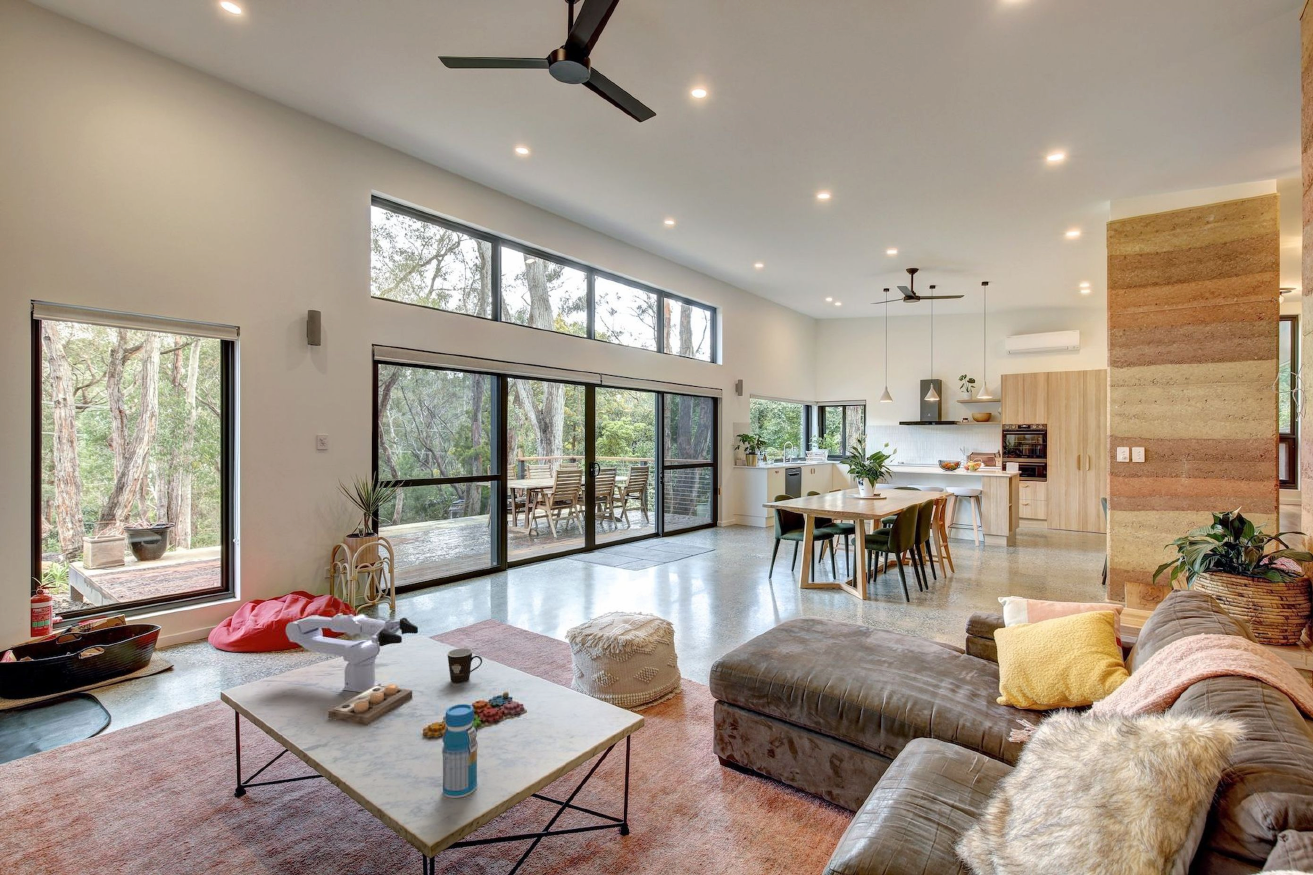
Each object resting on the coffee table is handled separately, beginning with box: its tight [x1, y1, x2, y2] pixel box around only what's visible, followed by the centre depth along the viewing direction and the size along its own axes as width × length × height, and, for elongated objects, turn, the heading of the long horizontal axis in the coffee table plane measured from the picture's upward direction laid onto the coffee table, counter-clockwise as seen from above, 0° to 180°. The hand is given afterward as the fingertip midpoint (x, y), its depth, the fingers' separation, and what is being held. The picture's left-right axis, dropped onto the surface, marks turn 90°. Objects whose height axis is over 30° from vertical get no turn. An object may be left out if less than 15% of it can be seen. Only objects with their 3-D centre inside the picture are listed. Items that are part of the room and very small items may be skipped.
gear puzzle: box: [422, 691, 527, 739], centre depth 186 cm, size 31×16×4 cm, turn 133°
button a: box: [354, 701, 369, 713], centre depth 187 cm, size 4×4×2 cm
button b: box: [370, 692, 384, 704], centre depth 193 cm, size 4×4×2 cm
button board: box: [327, 685, 413, 726], centre depth 194 cm, size 15×20×3 cm
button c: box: [384, 683, 399, 696], centre depth 199 cm, size 4×4×2 cm
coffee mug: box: [446, 647, 483, 685], centre depth 215 cm, size 12×9×10 cm
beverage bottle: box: [441, 703, 479, 799], centre depth 149 cm, size 8×8×20 cm
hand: (409, 634), depth 203 cm, fingers open, 7 cm apart
